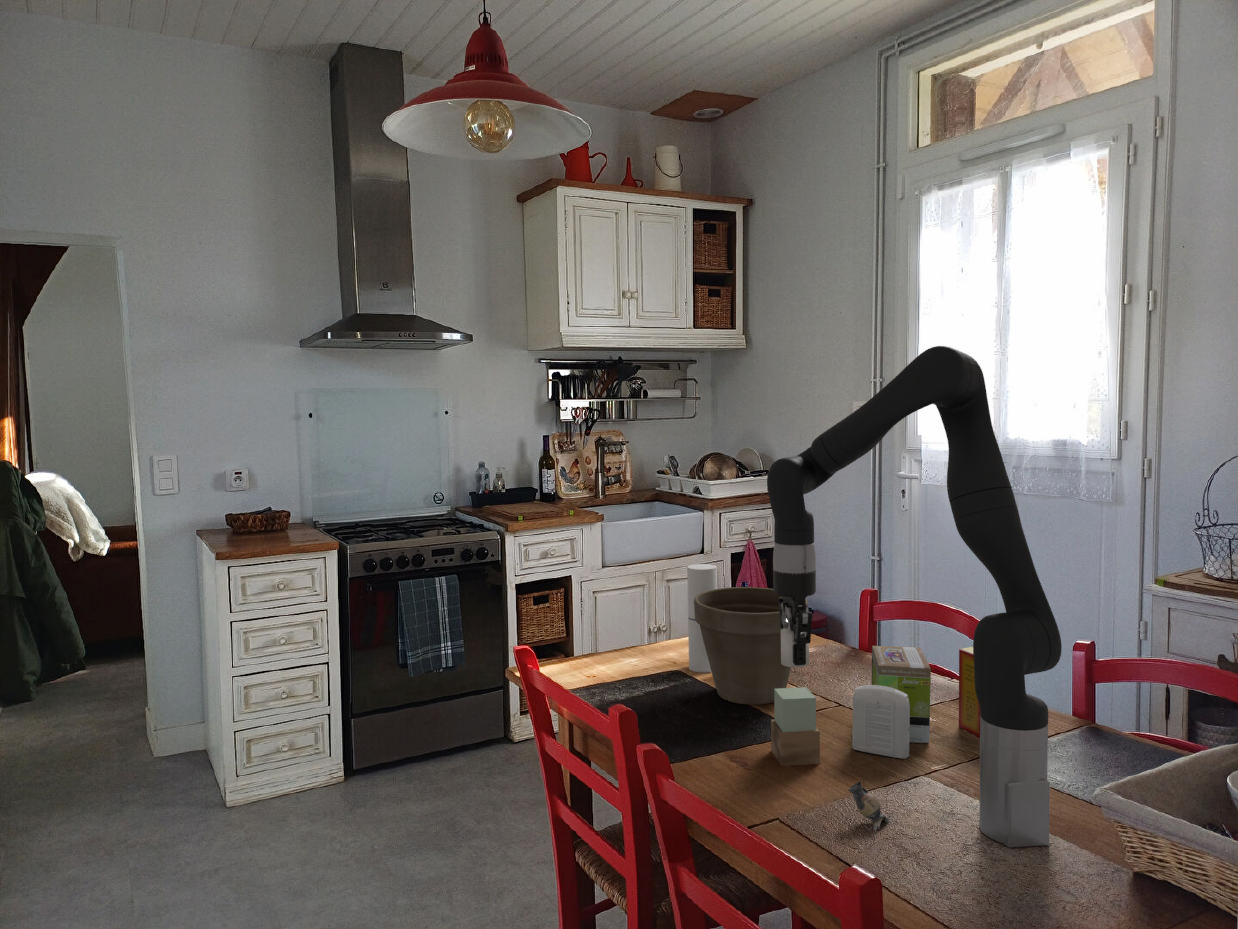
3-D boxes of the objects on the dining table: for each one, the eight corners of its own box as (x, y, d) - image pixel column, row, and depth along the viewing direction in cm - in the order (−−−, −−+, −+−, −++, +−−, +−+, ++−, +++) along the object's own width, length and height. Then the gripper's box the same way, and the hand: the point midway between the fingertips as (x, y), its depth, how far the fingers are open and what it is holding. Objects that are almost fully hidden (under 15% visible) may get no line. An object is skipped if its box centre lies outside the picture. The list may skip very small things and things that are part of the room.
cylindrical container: (684, 665, 221) (682, 565, 220) (711, 662, 223) (709, 563, 222) (695, 673, 215) (693, 570, 213) (723, 670, 217) (721, 568, 215)
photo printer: (911, 753, 165) (912, 687, 164) (906, 761, 161) (907, 694, 160) (855, 743, 170) (855, 679, 169) (849, 751, 166) (849, 686, 165)
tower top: (816, 730, 161) (815, 697, 160) (783, 732, 160) (782, 699, 160) (806, 719, 167) (806, 687, 166) (774, 720, 166) (774, 688, 166)
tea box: (931, 744, 168) (931, 667, 167) (876, 741, 170) (876, 665, 169) (921, 716, 183) (921, 645, 182) (870, 714, 185) (870, 643, 184)
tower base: (819, 764, 161) (819, 731, 160) (781, 766, 160) (781, 733, 160) (808, 749, 168) (808, 717, 167) (771, 751, 167) (771, 719, 167)
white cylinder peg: (812, 666, 160) (812, 633, 160) (785, 668, 160) (784, 635, 160) (804, 658, 165) (804, 626, 165) (777, 660, 165) (777, 627, 164)
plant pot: (831, 704, 192) (831, 603, 190) (729, 721, 183) (728, 616, 181) (770, 672, 215) (769, 582, 213) (676, 686, 206) (675, 592, 204)
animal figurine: (841, 823, 138) (842, 784, 138) (857, 814, 142) (858, 776, 142) (874, 833, 134) (875, 793, 134) (889, 823, 139) (890, 784, 139)
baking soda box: (998, 721, 180) (999, 642, 178) (1022, 732, 173) (1023, 651, 172) (958, 727, 177) (959, 647, 176) (981, 738, 171) (981, 656, 170)
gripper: (827, 574, 155) (827, 671, 156) (803, 559, 169) (804, 648, 170) (784, 576, 154) (785, 673, 155) (764, 561, 168) (765, 650, 169)
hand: (795, 659), depth 163 cm, fingers closed on white cylinder peg, 5 cm apart
